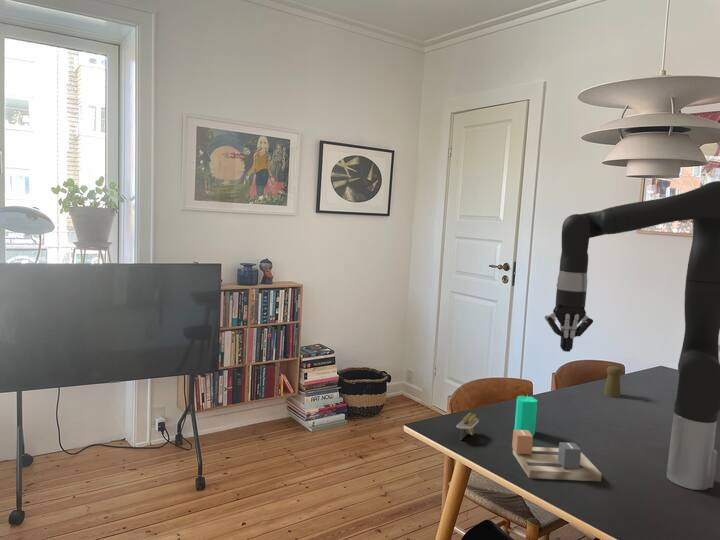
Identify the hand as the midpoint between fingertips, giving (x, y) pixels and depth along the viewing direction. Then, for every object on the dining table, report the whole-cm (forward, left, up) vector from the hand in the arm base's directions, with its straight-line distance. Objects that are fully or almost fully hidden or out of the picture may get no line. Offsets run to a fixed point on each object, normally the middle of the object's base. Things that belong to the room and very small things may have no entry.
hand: (566, 350), depth 145 cm
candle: (+5, -13, -29) cm, 32 cm away
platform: (+23, -8, -30) cm, 38 cm away
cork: (-41, -53, -29) cm, 73 cm away
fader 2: (+2, +12, -27) cm, 29 cm away
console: (+4, +9, -29) cm, 31 cm away
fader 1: (+12, +5, -27) cm, 30 cm away
